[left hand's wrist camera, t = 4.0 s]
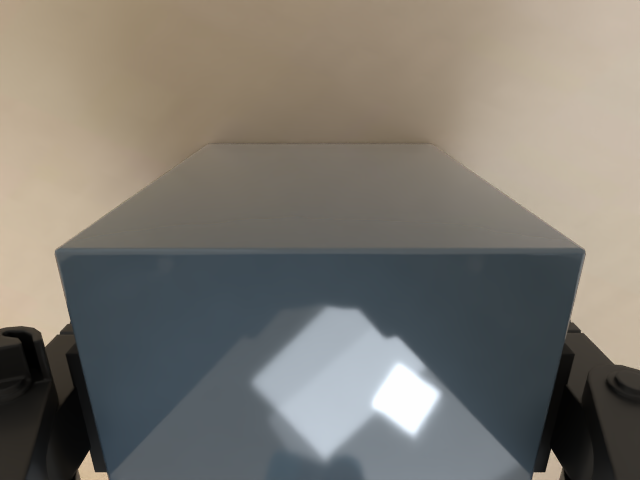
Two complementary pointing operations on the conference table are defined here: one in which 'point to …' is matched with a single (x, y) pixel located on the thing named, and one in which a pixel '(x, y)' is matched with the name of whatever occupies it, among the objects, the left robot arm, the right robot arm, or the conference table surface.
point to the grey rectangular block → (320, 318)
